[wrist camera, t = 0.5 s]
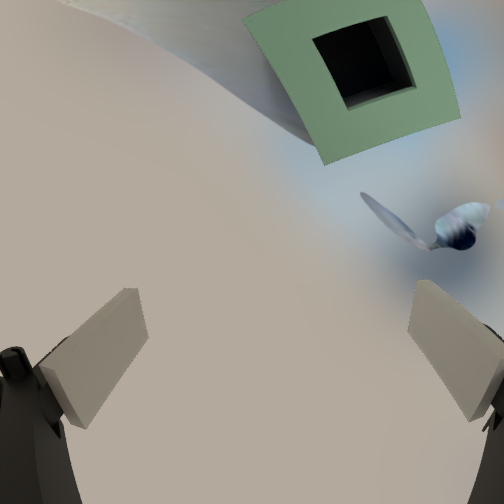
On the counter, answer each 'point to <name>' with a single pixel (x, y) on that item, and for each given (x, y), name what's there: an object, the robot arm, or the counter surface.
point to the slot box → (367, 102)
